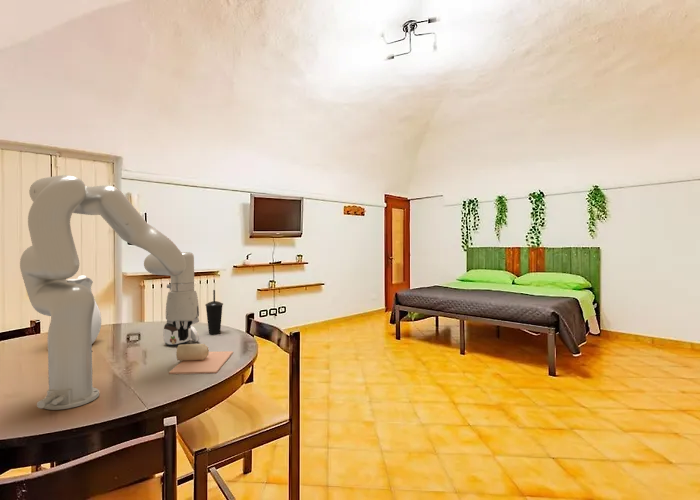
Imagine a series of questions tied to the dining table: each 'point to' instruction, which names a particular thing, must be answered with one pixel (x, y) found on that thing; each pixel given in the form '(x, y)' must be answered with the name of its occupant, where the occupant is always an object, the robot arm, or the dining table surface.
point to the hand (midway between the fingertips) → (183, 339)
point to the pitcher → (96, 314)
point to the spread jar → (172, 335)
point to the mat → (203, 364)
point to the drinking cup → (214, 316)
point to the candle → (192, 352)
